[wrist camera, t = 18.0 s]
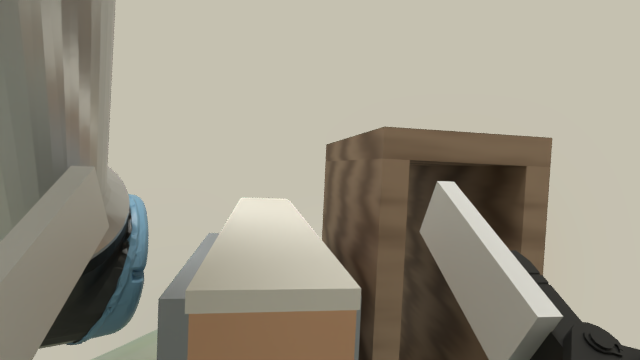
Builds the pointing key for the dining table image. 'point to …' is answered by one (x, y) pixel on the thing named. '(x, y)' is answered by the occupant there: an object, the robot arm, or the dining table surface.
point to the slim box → (271, 291)
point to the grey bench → (176, 321)
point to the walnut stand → (406, 220)
